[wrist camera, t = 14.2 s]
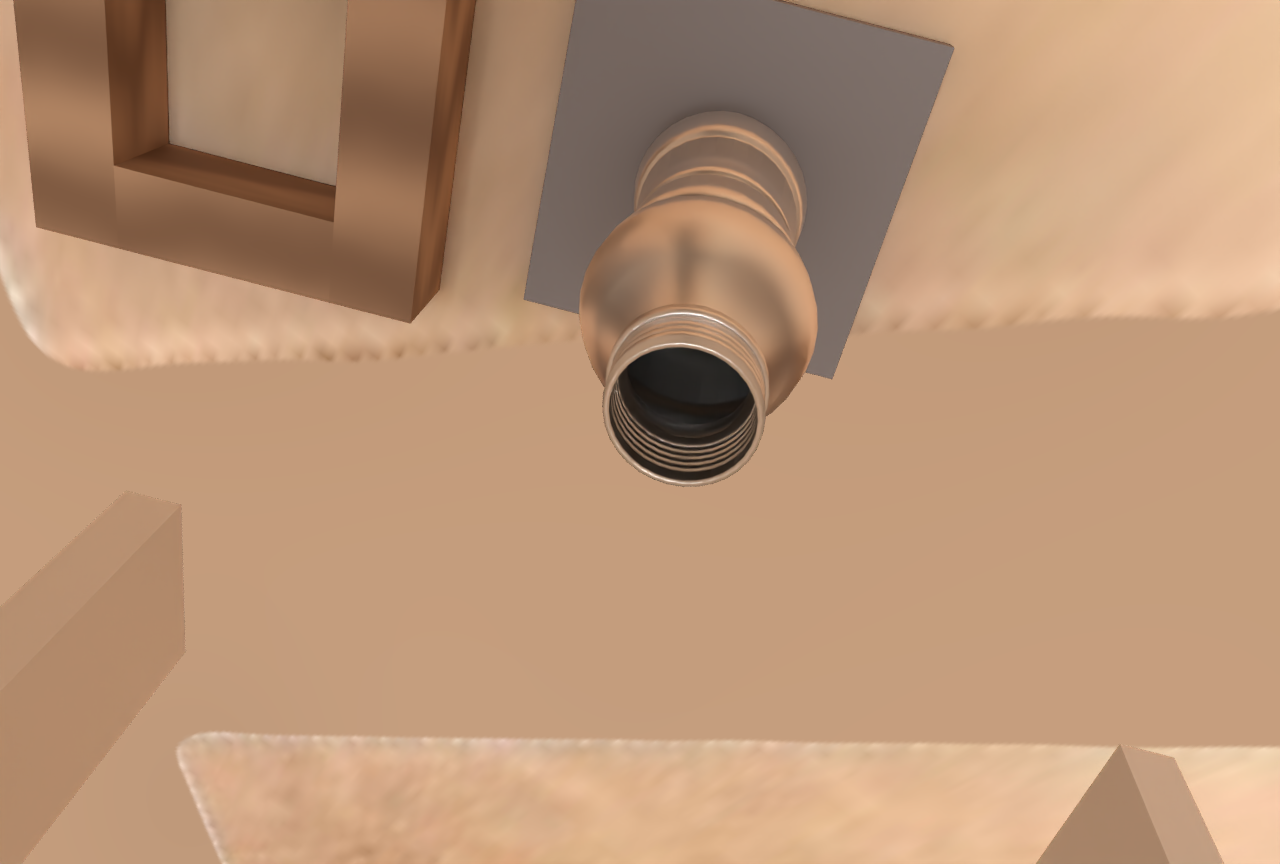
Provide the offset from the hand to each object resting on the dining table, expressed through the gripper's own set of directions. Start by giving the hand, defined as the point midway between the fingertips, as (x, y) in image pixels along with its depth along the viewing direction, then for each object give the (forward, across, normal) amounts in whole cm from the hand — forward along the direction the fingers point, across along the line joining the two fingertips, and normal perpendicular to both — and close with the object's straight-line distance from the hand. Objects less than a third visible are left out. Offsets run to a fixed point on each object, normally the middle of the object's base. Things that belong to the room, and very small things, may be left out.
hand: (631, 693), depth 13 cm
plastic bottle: (+29, 0, 0) cm, 29 cm away
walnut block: (+30, -19, 0) cm, 35 cm away
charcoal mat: (+30, 0, 0) cm, 30 cm away
